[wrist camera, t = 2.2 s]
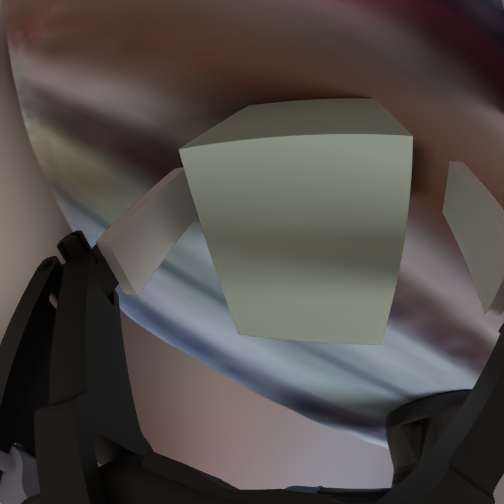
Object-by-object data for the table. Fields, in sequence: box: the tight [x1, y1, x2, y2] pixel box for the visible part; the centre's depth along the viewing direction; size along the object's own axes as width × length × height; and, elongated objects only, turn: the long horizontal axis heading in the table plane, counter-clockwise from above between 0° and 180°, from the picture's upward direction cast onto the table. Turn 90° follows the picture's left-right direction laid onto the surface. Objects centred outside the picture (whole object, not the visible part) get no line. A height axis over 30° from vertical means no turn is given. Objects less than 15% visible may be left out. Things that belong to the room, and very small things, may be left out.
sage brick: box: [179, 98, 413, 345], centre depth 11 cm, size 8×6×7 cm
